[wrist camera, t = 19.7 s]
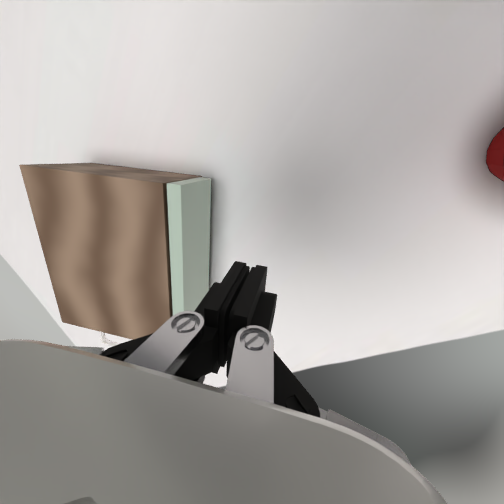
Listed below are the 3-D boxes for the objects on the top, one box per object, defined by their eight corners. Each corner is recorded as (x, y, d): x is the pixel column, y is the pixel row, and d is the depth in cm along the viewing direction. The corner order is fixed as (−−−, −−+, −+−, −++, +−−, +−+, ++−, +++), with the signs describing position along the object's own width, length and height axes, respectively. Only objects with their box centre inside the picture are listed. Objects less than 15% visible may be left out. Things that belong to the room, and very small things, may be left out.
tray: (211, 178, 28) (180, 185, 22) (208, 314, 36) (184, 351, 29) (94, 164, 31) (34, 166, 24) (115, 294, 39) (73, 323, 32)
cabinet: (201, 176, 30) (162, 183, 22) (200, 307, 38) (171, 349, 29) (91, 163, 32) (19, 164, 24) (112, 288, 40) (62, 322, 32)
